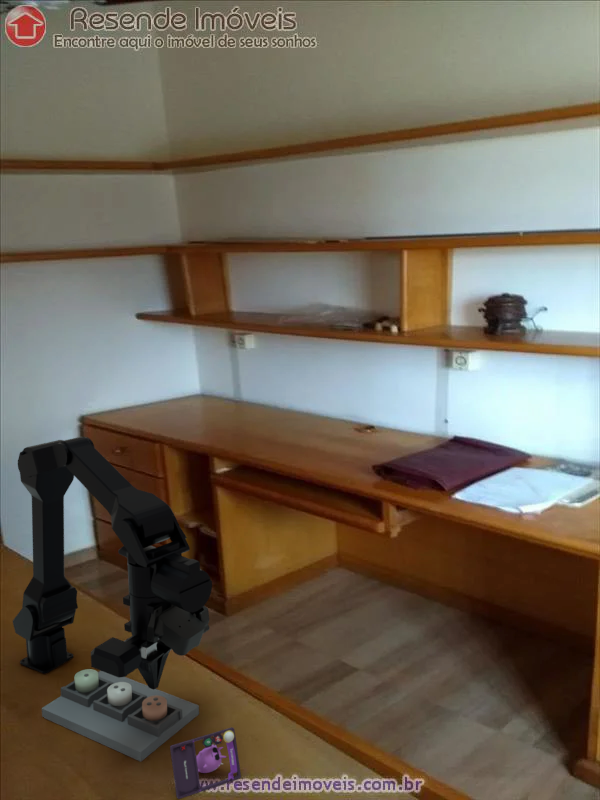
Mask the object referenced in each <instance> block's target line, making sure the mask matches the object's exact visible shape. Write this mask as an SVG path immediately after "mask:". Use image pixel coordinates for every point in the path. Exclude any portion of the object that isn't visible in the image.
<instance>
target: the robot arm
mask: <svg viewBox="0 0 600 800" xmlns="http://www.w3.org/2000/svg"><path fill="white" fill-rule="evenodd" d="M17 468H18V471H19V475H20V476H19V477H20V482H21V483H22V485H23V486H24V488H25V489H26V490H27V492H28V493H29V494H30V496H31V518H32V519H31V524H32V525H31V527H32V531H31V533H32V568H33V569H32V570H33V572H32V573H33V575H32V577H31V579H30V581H29V583H28V584H27V586H26V588H25V590H24V591H23V596H22V605H21V606H22V607H21V609H20V610H19V612H18V613H17V614H16V616H15V617H14V618H13V620H12V625H13V629H14V633H15V634H17V635H19V637H22V638H23V639H25V645H26V647H25V648H26V657H23V659H20V661H19V664H20V665H22V666H24V667H26V668H29V669H30V670H34V671H36V672H37V673H38V672H39V673H40V674H48V673H50V672H52V671H53V670H56V669H57V668H58V667H60V666H61V665H62V666H63V664H65V663H67V662H68V661H70V660H72V659H73V658H74V654H73V653H71V652H69V651H68V649H67V647H68V646H67V639H66V635H65V634H66V633H65V628H64V627H66V626H68V625H71V624H74V621H75V617H76V616H75V615H76V611H77V609H78V608H79V606H78V599H77V596H78V589H77V588H76V587H75V586H73V585H72V584H71V583H70V581H69V580H68V579H67V577H66V575H65V508H64V507H65V505H64V504H65V503H64V502H65V495H66V493H67V492H68V490H69V488H70V486H71V485H72V484H73V481H74V478H76V479H77V481H78V482H80V483H81V485H82V486H84V488H85V489H86V490H87V491H88V492H89V493H90V494H91V495H92V496H93V497H94V498H95V500H97V501H98V502H99V504H100V505H101V506H103V508H104V509H105V511H107V513H109V515H110V518H111V529H112V531H113V532H114V533H115V535H116V536H117V538H118V539H119V541H120V543H121V544H122V545H123V546H121V547H120V548H119V549H118V555H120V556H122V557H124V558H126V559H127V578H128V594H127V595H125V596H124V597H123V596H122V603H123V605H124V606H128V607H129V619H130V620H129V621H127V622H126V623H124V627H123V628H124V631H125V632H128V633H131V636H130V637H128V638H126V639H125V640H123V639H122V640H121V639H119V638H116V637H110V638H109V639H108V640H106V641H104V642H102V643H100V644H99V645H97V646H95V647H94V648H93V649H92V650H91V651H90V663H91V665H90V667H91V668H93V669H94V670H95V669H96V670H98V671H103V672H106V673H108V674H111V675H113V676H116V677H127V676H129V675H130V674H131V673H133V672H134V671H135V670H138V672H139V673H140V675H141V676H142V678H143V681H144V682H145V683H146V684H147V686H148V687H149V688H151V689H153V690H154V689H158V688H159V685H160V681H161V679H162V676H163V675H162V674H163V672H164V670H165V669H164V668H165V666H166V663H167V659H168V657H169V654H170V652H171V651H172V652H173V653H174V654H176V655H177V656H180V657H181V656H185V655H187V654H188V653H189V652H190V651H192V649H194V648H196V647H198V646H200V644H201V641H202V638H203V635H204V634H206V632H208V631H209V630H210V629H211V628H210V625H209V623H210V613H209V608H208V607H207V606H205V605H206V604H207V602H208V601H209V599H210V597H211V594H212V591H213V581H212V579H211V577H210V575H209V573H208V572H207V571H205V570H203V569H201V563H200V561H199V560H197V559H193V558H188V557H185V556H182V554H184V553H187V552H189V551H190V545H189V543H188V541H187V538H188V537H187V536H186V534H185V532H184V531H183V529H182V527H181V526H180V524H179V522H178V520H177V518H176V515H175V513H174V512H173V509H172V508H171V506H170V505H168V504H167V502H165V501H164V500H162V499H161V498H160V497H158V496H156V495H155V494H154V493H151V492H148V491H145V490H142V489H141V490H140V489H138V488H137V487H135V486H134V485H132V484H131V483H130V481H129V480H128V479H127V478H125V477H124V476H123V475H122V474H121V472H119V471H118V469H116V467H114V466H113V465H112V463H110V462H109V461H108V460H107V459H106V458H105V456H104V455H102V454H101V453H100V451H98V450H97V449H96V448H95V444H94V442H93V441H92V439H91V438H90V437H88V436H87V437H85V436H77V437H75V438H74V437H73V438H69V439H64V440H63V439H58V440H57V439H56V440H52V441H48V442H44V443H40V444H34V445H31V446H27V447H25V448H23V449H22V451H20V452H19V454H18V459H17ZM167 540H170V542H168V543H165V544H163V545H159V546H158V547H156V546H153V545H156V544H158V543H161V542H164V541H167Z"/></svg>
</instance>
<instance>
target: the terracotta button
mask: <svg viewBox="0 0 600 800" xmlns="http://www.w3.org/2000/svg"><path fill="white" fill-rule="evenodd" d="M142 713H143V717H144V718H145V719H146V720H150V721H156V720H160V719H162V718H164V717H165V716H166V715H167V700H166V698H165V697H163V696H158V695H155V696H150V697H148V698H146V699H144V700H143V702H142Z"/></svg>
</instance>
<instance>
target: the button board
mask: <svg viewBox="0 0 600 800" xmlns="http://www.w3.org/2000/svg"><path fill="white" fill-rule="evenodd" d="M97 672H98V678H99V686H98V687H97V688H96V689H95V690H93V691H90V692H79V691H77V690H76V689H75V679H74V680H73V681H71V682H69V683H68V684H67V685H65V686H61V687H60V696H59V697H57V698H55V699H53V701H51V702H50V703H48V704H46V705H44V706H43V707H41V717H42V718H43V717H44V719H46V720H48V721H49V722H52V723H55V724H56V725H58V726H61V727H64V728H66V729H67V730H70V731H71V732H72V731H73V732H74V733H76V734H78V735H80V736H83V737H85V738H88V739H90V740H92V741H94V742H95V743H96V742H97V743H99V744H101V745H102V746H105V747H107V748H110V749H112V750H115V751H116V752H118V753H121V754H123V755H125V756H127V757H129V758H132V759H134V760H136V761H138V762H142V761H144V760H145V759H146V758H147V757H149V755H151V754H152V753H153V752H155V751H156V750H157V749H159V748H160V747H161V746H162V745H163V744H165V743H166V742H167V741H168V740H170V739H171V738H172V737H173V736H174V735H176V733H178V732H179V731H180V730H182V729H183V728H184V727H186V725H188V724H189V723H191V721H193V720H194V719H195V718H197V717H198V716H199V715H200V705H198V704H197V703H193V702H191V701H188V700H187V699H186V700H185V699H183V698H181V697H178V696H175V695H173V694H170V693H167V692H166V691H162V690H159V689H158V688H156V689H154V690H153V689H151V688H149V687H148V685H146V684H145V683H141V682H139V681H137V680H134V679H131V678H129V677H127V676H125V677H116V676H113V675H111V674H108V673H106V672H103V671H101V670H98V671H97ZM117 682H127V683H129V684H130V685H131V687H132V700H131V701H130V702H129V703H128V704H126V705H123V706H113V705H110V704H109V703H108V694H107V689H108V687H109V686H110V685H112V684H114V683H117ZM155 695H158V696H163V697H165V698H166V700H167V715H166V716H165V717H164V718H162V719H160V720H156V721H150V720H146V719H145V718H144V717H143V713H142V702H143V700H144V699H146V698H148V697H150V696H155Z"/></svg>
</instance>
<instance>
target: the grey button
mask: <svg viewBox="0 0 600 800" xmlns="http://www.w3.org/2000/svg"><path fill="white" fill-rule="evenodd" d="M107 694H108V703H109V704H110V705H113V706H123V705H126V704H128V703H129V702H130V701H131V700H132V687H131V685H130V684H129V683H127V682H117V683H114V684H112V685H110V686H109V687H108V689H107Z"/></svg>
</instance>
